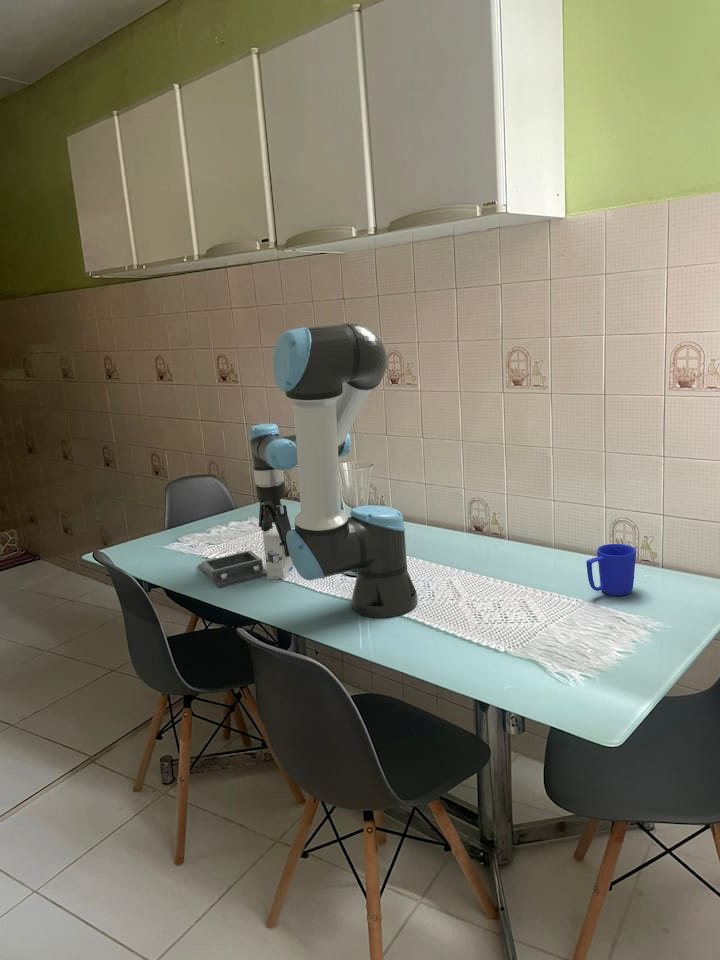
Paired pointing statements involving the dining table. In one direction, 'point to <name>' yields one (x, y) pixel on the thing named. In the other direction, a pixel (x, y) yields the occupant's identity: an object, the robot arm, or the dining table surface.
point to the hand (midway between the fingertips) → (279, 560)
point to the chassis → (233, 568)
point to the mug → (614, 569)
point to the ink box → (274, 555)
